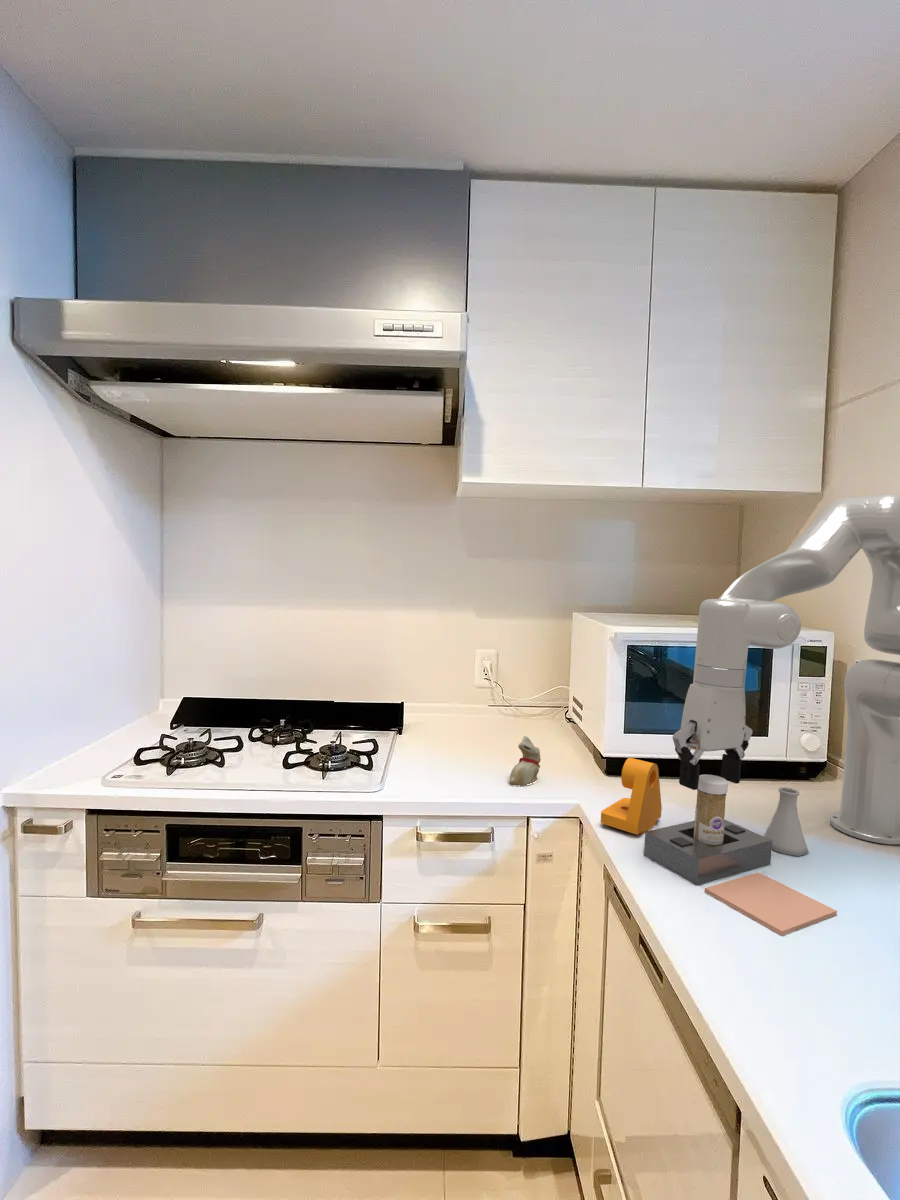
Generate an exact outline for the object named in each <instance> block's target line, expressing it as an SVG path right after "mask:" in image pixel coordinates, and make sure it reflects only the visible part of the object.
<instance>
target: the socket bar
mask: <svg viewBox="0 0 900 1200" xmlns="http://www.w3.org/2000/svg"><path fill="white" fill-rule="evenodd" d="M694 824H695V820H692V821H687V822H682V823H677V824H673V825H669V826H664V827H661V828H656V829H650V830H648V831H645V833H644V843H643V845H644V846H643V857H645V858H647V859H649V860H650V861H652V862H654V863H656V864H658V865H659V866H661V867H663V868H665V869H667V870H669V871H670V872H672V873H673V874H676V875H678V876H679V877H681V878H682V879H684V880H686V881H688V882H690V883H691V884H693V885H695V886H702V885H705V883H706V884H709V883H711V882H716V881H719V880H722V879H725V878H728V877H729V878H730V877H733V876H736V875H739V874H742V873H746V872H749V871H753V870H757V869H760V868H764V867H767V866H770V865H771V864H772V863H771V862H772V840H771V839H769V838H766V837H764V835H762V834H760V833H758V832H755V831H753V830H750V829H749V828H745V827H743V826H741V825H738V824H737V823H734V822H732V821H730V820H727V819H725V818H724V836H723V843H722V845H721V846H717V847H713V848H711V847H709V846H707V845H705V844H703V843H701V842H699V841H697V840H695V839H694Z"/></svg>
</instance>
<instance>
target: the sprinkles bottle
mask: <svg viewBox="0 0 900 1200" xmlns="http://www.w3.org/2000/svg"><path fill="white" fill-rule="evenodd" d="M728 786H729V781H727V780H726V779H724V778H722V777H721V776H719V775H714V774H699V783H698V789H697V790H696V791H697V792H696V793H697V795H696V805H695V814H694V821H695V824H694V839H695V840H697V841H699V842H701V843H703V844H705V845H707V846H709V847H711V848H713V847H717V846H721V845H722V843H723V836H724V819H725V814H726V799H727V793H728V789H729V788H728Z"/></svg>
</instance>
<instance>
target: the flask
mask: <svg viewBox="0 0 900 1200" xmlns="http://www.w3.org/2000/svg"><path fill="white" fill-rule="evenodd" d="M777 791H778V792H779V801H778V804H777V806H776V807H777V808H776V810H775V812H774V814H773V817H772V819H771V821H770V823H769V825H768V827H767V828H766V830H765V833H764V834H763V836H764V837H766V838H769V839H771V840H772V850H773V851H775V852H778V853H780V854H785V855H790V856H791V855H792V856H796V857H800V856H803V855H806V854H809V849H808V846H807V842H806V839H805V836H804V833H803V829H802V825H801V822H800V818H799V815H798V814H799V813H798V796H800V791H799V789H796V788H793V787H788V786H787V787H786V786H780V787H778V790H777Z"/></svg>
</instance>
